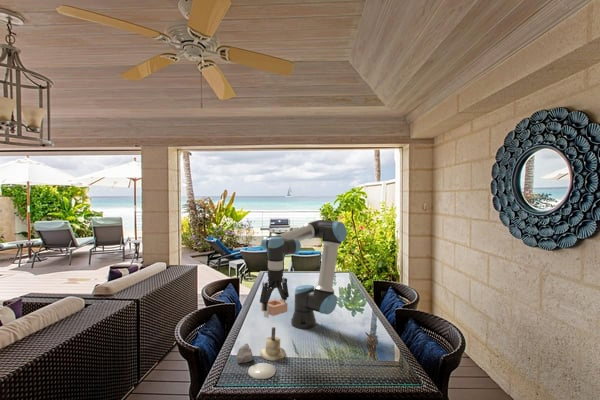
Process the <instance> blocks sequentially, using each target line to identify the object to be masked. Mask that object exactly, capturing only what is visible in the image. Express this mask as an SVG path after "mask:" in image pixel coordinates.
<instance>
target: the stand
mask: <svg viewBox="0 0 600 400" xmlns="http://www.w3.org/2000/svg"><path fill="white" fill-rule="evenodd" d="M259 355H260V357H261V358H262V359H263V360H266V361H272V362H273V361H274V362H275V361H279V360H282V359H284V357H285V356H286V350H285V349H284V348H282V347H281V338H280V337H278V336H276V326H273V327H271V335H270V336H269V337H266V338H265V347H264V348H262V349H261V350H260V354H259Z"/></svg>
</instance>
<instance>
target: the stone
mask: <svg viewBox="0 0 600 400" xmlns="http://www.w3.org/2000/svg"><path fill="white" fill-rule="evenodd" d="M235 359H236V361H237V363H238V364H242V363H244V364H245V363H246V364H247V363H248V362H253V361H254V356H253V352H252V349H251V348H250V345H249V344H248V343H245V344H244V345H243V346H241V347H239V349H238V352H237V353H236V357H235Z"/></svg>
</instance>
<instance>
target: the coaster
mask: <svg viewBox="0 0 600 400" xmlns="http://www.w3.org/2000/svg"><path fill="white" fill-rule="evenodd" d="M247 371H248V372H247V374H248V375H249V376H250V377H251V378H252V379H256V380H266V379H269V378H270V379H271V377H274V376H275V374H276V367H275V366H274V365H273V364H270V363H266V362H259V363H255V364H253V365H252V364H251V366H250V367H249V368H248V370H247Z"/></svg>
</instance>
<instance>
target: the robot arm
mask: <svg viewBox="0 0 600 400" xmlns="http://www.w3.org/2000/svg"><path fill="white" fill-rule="evenodd" d="M346 227H347V226H346V225H345V223H344V222H342V221H338V220H330V219H329V220H327V219H319V220H314V221H310V222H306V223H305V224H303V225H302V226H300V227H297V228H295V229H292V230H289V231H286V232H282V233H280V234H276V235H272V236H271V235H268V236H267V235H266V236H263V238H262V239H261V242H260V243H261V244H260V245H261V247H262V249H263V250H266V251H267V268H268V269H267V281H263V282H262V289H261V293H260V298H259V303H260V304H261V305H262V304H263V310H264V312H263V317H264V318H266V319H269V317H270V314H269V304H268V301H269V300H271V299H270V298H271V296H272V293H273V291H274V290H275V289H277V291H278V293H279V296H280V298H279V300H280V301H283V302H285V303H286V301H287V299H288V298H289V297H290V294H289V289H288V278H286V277H284V256H288V255H294V254H295V255H296V254H298V253H299V252H300V250H301V248H302V245H301V241H304V240H307V239H308V240H312V239H321V242H322V244H323V248H322V255H321V262H320V267H319V269H320V270H319V275H318V282H317V285H316V286H314V285H311V284H304V285H303V284H302V285H299V286H296V288H295V291H294V309H293V310H294V311H293V314H292V318H291V319H290V322H291V326H293V327H294V328H297V329H307V330H308V329H311V328H312V329H313V328H314V327H316V324H317V320H316V317H315V312H317V313H320V314H324V315H330V314H332V313H333V312H334V311H335V309H336V307H337V303H338V299H337V296H336V295H335V290H334V289H333V284H334V279H335V278H334V277H335V270H336V266H337V265H336V264H337V258H338V251H339V247H340V246H341V245H342V242H344V241H345V240H346V238H347V235H348V233H347V232H348V231H347V230H348V229H347V228H346Z"/></svg>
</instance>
